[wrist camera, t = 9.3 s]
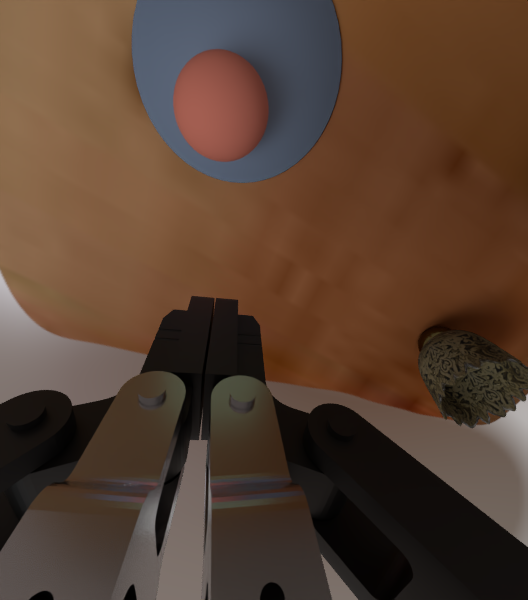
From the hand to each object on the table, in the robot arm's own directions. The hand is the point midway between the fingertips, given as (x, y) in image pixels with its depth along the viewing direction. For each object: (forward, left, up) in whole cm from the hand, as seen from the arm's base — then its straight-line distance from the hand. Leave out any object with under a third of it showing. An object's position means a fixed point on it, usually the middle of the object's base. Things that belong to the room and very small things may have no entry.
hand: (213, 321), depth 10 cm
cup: (+10, +22, -15) cm, 29 cm away
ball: (-7, -1, -12) cm, 14 cm away
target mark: (-9, 0, -15) cm, 17 cm away
